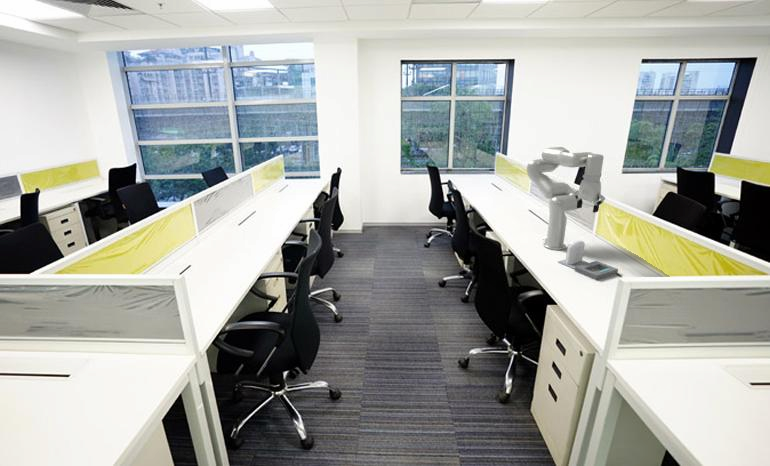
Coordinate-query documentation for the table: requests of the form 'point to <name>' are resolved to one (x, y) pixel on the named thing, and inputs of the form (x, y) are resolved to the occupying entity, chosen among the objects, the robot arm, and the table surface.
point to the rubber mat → (572, 264)
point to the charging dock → (596, 275)
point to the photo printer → (575, 252)
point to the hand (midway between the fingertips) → (587, 210)
